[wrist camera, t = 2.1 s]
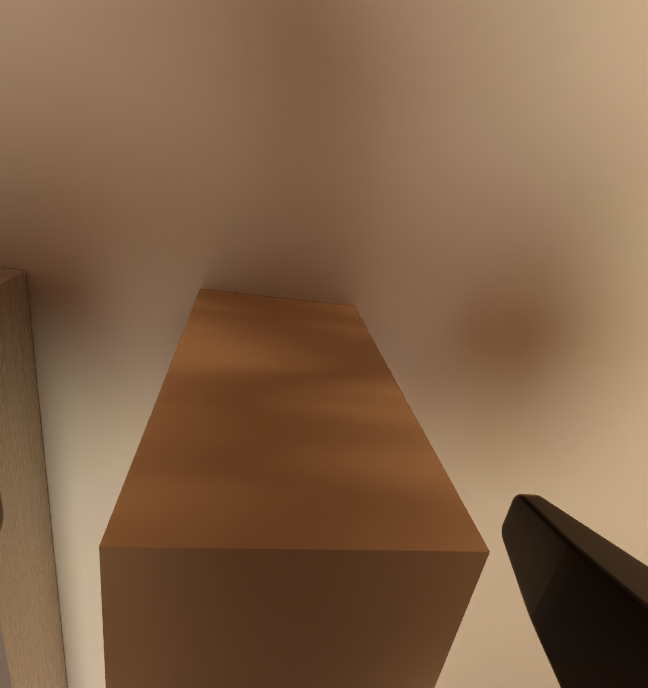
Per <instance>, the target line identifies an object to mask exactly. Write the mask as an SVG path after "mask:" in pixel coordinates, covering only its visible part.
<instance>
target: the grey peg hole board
mask: <svg viewBox="0 0 648 688" xmlns="http://www.w3.org/2000/svg"><path fill="white" fill-rule="evenodd" d="M0 490H1V497H2V503H3V510H4V521H3V525H2V528H1V531H0V688H67V680H66V670H65V660H64V650H63V640H62V631H61V621H60V611H59V601H58V591H57V581H56V571H55V561H54V551H53V541H52V531H51V521H50V511H49V501H48V492H47V482H46V472H45V462H44V452H43V442H42V432H41V422H40V412H39V402H38V392H37V382H36V372H35V362H34V353H33V343H32V333H31V323H30V313H29V303H28V293H27V283H26V273H25V270H18V269H9V268H0Z"/></svg>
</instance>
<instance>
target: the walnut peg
mask: <svg viewBox="0 0 648 688" xmlns="http://www.w3.org/2000/svg"><path fill="white" fill-rule="evenodd" d="M99 552H100V573H101V594H102V616H103V637H104V658H105V680H106V688H434V687H435V685H436V682H437V680H438V677H439V675H440V672H441V670H442V668H443V665H444V663H445V660H446V658H447V655H448V653H449V650H450V648H451V645H452V643H453V641H454V638H455V636H456V633H457V631H458V628H459V626H460V623H461V621H462V618H463V616H464V614H465V611H466V609H467V606H468V604H469V601H470V599H471V596H472V594H473V591H474V589H475V587H476V584H477V582H478V579H479V577H480V574H481V572H482V569H483V567H484V565H485V562H486V560H487V557H488V555H489V552H490V551H489V549H488V548H487V546H486V544H485V542H484V540H483V539H482V537H481V535H480V533H479V531H478V530H477V528H476V526H475V524H474V522H473V520H472V519H471V517H470V515H469V513H468V511H467V510H466V508H465V506H464V504H463V502H462V501H461V499H460V497H459V495H458V493H457V491H456V490H455V488H454V486H453V484H452V482H451V481H450V479H449V477H448V475H447V473H446V472H445V470H444V468H443V466H442V464H441V463H440V461H439V459H438V457H437V455H436V453H435V452H434V450H433V448H432V446H431V444H430V443H429V441H428V439H427V437H426V435H425V434H424V432H423V430H422V428H421V426H420V424H419V423H418V421H417V419H416V417H415V415H414V414H413V412H412V410H411V408H410V406H409V405H408V403H407V401H406V399H405V397H404V395H403V394H402V392H401V390H400V388H399V386H398V385H397V383H396V381H395V379H394V377H393V376H392V374H391V372H390V370H389V368H388V366H387V365H386V363H385V361H384V359H383V357H382V356H381V354H380V352H379V350H378V348H377V347H376V345H375V343H374V341H373V339H372V337H371V336H370V334H369V332H368V330H367V328H366V327H365V325H364V323H363V321H362V319H361V318H360V316H359V314H358V312H357V310H356V308H355V307H354V306H348V305H339V304H330V303H321V302H312V301H303V300H294V299H285V298H276V297H267V296H258V295H249V294H240V293H231V292H222V291H213V290H204V289H200V291H199V294H198V296H197V299H196V301H195V304H194V306H193V309H192V312H191V314H190V317H189V319H188V322H187V324H186V327H185V329H184V332H183V334H182V337H181V340H180V342H179V345H178V347H177V350H176V352H175V355H174V357H173V360H172V363H171V365H170V368H169V370H168V373H167V375H166V378H165V380H164V383H163V385H162V388H161V391H160V393H159V396H158V398H157V401H156V403H155V406H154V408H153V411H152V413H151V416H150V419H149V421H148V424H147V426H146V429H145V431H144V434H143V436H142V439H141V441H140V444H139V447H138V449H137V452H136V454H135V457H134V459H133V462H132V464H131V467H130V470H129V472H128V475H127V477H126V480H125V482H124V485H123V487H122V490H121V492H120V495H119V498H118V500H117V503H116V505H115V508H114V510H113V513H112V515H111V518H110V520H109V523H108V526H107V528H106V531H105V533H104V536H103V538H102V541H101V543H100V546H99Z"/></svg>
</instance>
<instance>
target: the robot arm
mask: <svg viewBox="0 0 648 688" xmlns="http://www.w3.org/2000/svg"><path fill="white" fill-rule="evenodd" d="M3 521H4V510H3V503H2V497H1V490H0V531H1V528H2V525H3ZM502 538H503V541H504V544H505V547H506V550H507V553H508V556H509V559H510V562H511V565H512V568H513V571H514V573H515V576H516V579H517V582H518V585H519V588H520V591H521V594H522V597H523V600H524V602H525V605H526V608H527V611H528V613H529V616H530V619H531V621H532V624H533V626H534V628H535V631H536V633H537V635H538V638H539V640H540V642H541V644H542V647H543V649H544V651H545V653H546V655H547V658H548V660H549V662H550V664H551V667H552V669H553V671H554V673H555V676H556V678H557V680H558V682H559V685H560V687H561V688H648V566H646V565H645V564H643V563H642V562H640V561H639V560H637V559H635V558H634V557H632V556H631V555H629V554H628V553H626V552H625V551H623V550H622V549H620V548H619V547H617V546H616V545H614V544H613V543H611V542H609V541H608V540H606V539H605V538H603V537H602V536H600V535H599V534H597V533H596V532H594V531H593V530H591V529H590V528H588V527H587V526H585V525H583V524H582V523H580V522H579V521H577V520H576V519H574V518H573V517H571V516H570V515H568V514H567V513H565V512H564V511H562V510H560V509H559V508H557V507H556V506H554V505H553V504H551V503H550V502H548V501H547V500H545V499H544V498H542V497H540V496H538V495H530V494H519V495H517V496H516V497H514V499H513V501H512V503H511V506H510V508H509V510H508V513H507V515H506V518H505V520H504V523H503V526H502Z"/></svg>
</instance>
